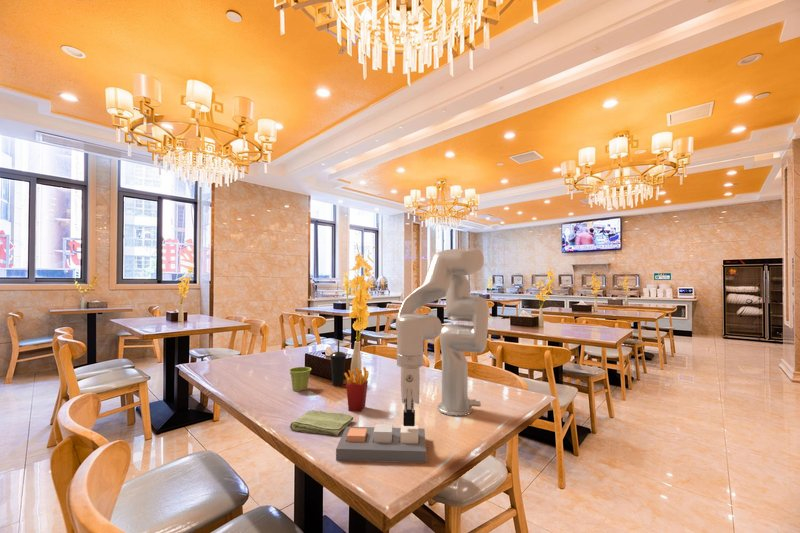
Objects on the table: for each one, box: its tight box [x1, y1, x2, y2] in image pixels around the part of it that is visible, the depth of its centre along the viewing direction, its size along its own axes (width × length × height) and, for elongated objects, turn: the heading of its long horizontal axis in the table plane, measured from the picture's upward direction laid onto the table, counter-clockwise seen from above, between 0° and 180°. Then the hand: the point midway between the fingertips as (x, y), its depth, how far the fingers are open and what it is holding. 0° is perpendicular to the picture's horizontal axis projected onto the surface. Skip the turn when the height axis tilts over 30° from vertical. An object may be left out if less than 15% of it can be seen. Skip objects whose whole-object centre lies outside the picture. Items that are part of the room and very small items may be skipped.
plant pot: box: [288, 366, 312, 392], centre depth 151 cm, size 9×9×9 cm
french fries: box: [344, 366, 369, 413], centre depth 130 cm, size 9×8×15 cm
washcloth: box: [289, 409, 354, 437], centre depth 114 cm, size 13×18×3 cm
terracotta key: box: [347, 428, 367, 442], centre depth 99 cm, size 5×5×3 cm
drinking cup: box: [329, 340, 348, 387], centre depth 159 cm, size 8×8×20 cm
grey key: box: [374, 423, 394, 443], centre depth 99 cm, size 5×5×3 cm
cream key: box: [400, 424, 419, 444], centre depth 98 cm, size 5×5×3 cm
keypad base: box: [335, 426, 427, 463], centre depth 99 cm, size 24×14×3 cm, turn 88°
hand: (409, 424), depth 98 cm, fingers closed
